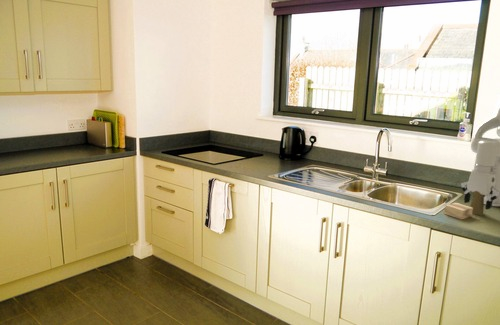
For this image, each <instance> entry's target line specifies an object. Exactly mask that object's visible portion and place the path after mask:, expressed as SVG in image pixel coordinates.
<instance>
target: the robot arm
mask: <svg viewBox="0 0 500 325" xmlns="http://www.w3.org/2000/svg"><path fill="white" fill-rule="evenodd" d="M496 101H497V102H496V103H495V106H494V110H493V112H492V115H491V117H490V118H488V119H486V120H484V121H483V122H482V123H481V124H479V126H478V127H477V128H476V130H475V131H474V135H473V137H472V140H471V144H470V149H471V152H473V153H475V155H476V156H475V160H474V165H473V166H474V167H473V169H472V170H471V172H470V174H469V178H468V181H464V182H461V183H460V185H461V190H462V192H463V193H464V198H463V200H464V201H463V202H464V203H465V204H467V203H470V202H471V201H470V200H471V193H473V192H474V191H478V192H479V193H480V194H482V195H485V197H484V205H485V208H484V209H485V210H490V209H491V208H492V207H500V138H497V137H496V138H488V137H483V135H485V133H487V132H488V131H491V130H493V129H496V135H497V136H498V137H500V94H499V95H498V98H497V100H496Z"/></svg>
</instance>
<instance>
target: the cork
mask: <svg viewBox="0 0 500 325" xmlns="http://www.w3.org/2000/svg"><path fill="white" fill-rule="evenodd" d="M472 195H473V196H472V200H471V201H470V205H469V207H472V208H473V212H472V215H475V216H483V215H484V209H485V208H484V205H485V204H484V197H485V195H482V194H480V193H479V192H478V191H474V192H472Z"/></svg>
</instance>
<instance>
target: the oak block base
mask: <svg viewBox="0 0 500 325" xmlns="http://www.w3.org/2000/svg"><path fill="white" fill-rule="evenodd" d="M443 212H444V213H443V214H445V215H448V216H451V217H453V218H456V219H459V220H464V219H468V218H471V217H472V216H473V214H472V212H473V208H472V207H470V205H469V206H468V205H465V204H462V203H458V202H452V203H448V204H445V207H444V211H443Z"/></svg>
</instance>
